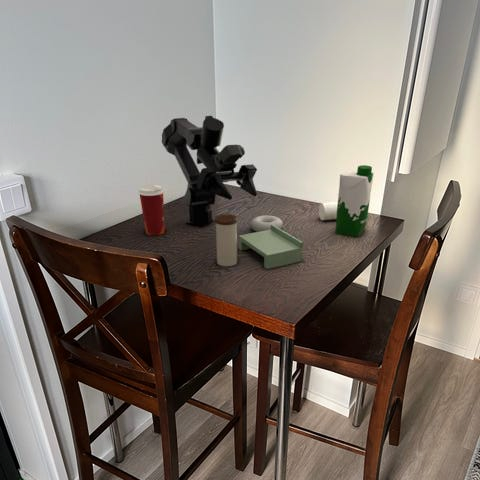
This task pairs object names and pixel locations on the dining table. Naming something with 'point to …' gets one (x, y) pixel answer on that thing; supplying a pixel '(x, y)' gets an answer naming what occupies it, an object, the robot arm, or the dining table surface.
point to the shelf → (273, 246)
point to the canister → (226, 239)
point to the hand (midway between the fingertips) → (244, 196)
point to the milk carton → (354, 200)
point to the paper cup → (152, 208)
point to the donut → (265, 223)
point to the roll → (328, 211)
